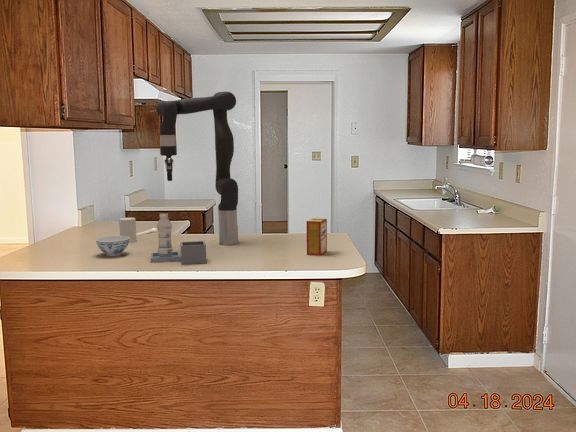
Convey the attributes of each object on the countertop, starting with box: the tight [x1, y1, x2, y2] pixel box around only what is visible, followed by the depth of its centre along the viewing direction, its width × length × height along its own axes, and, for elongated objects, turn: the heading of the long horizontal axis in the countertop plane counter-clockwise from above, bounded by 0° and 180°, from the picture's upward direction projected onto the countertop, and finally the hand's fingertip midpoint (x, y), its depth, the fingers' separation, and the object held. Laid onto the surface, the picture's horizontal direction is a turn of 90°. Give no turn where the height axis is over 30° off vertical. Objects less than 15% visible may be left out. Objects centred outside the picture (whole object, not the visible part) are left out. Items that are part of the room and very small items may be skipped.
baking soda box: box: [306, 217, 328, 257], centre depth 270 cm, size 10×6×16 cm
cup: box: [118, 217, 138, 244], centre depth 306 cm, size 8×8×12 cm
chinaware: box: [95, 235, 130, 257], centre depth 273 cm, size 15×15×8 cm
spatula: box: [136, 227, 158, 237], centre depth 324 cm, size 28×4×3 cm, turn 155°
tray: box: [150, 251, 181, 264], centre depth 263 cm, size 13×12×2 cm
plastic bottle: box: [156, 212, 174, 257], centre depth 262 cm, size 6×7×20 cm
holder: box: [179, 240, 207, 265], centre depth 257 cm, size 11×10×8 cm
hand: (169, 180), depth 273 cm, fingers open, 8 cm apart
